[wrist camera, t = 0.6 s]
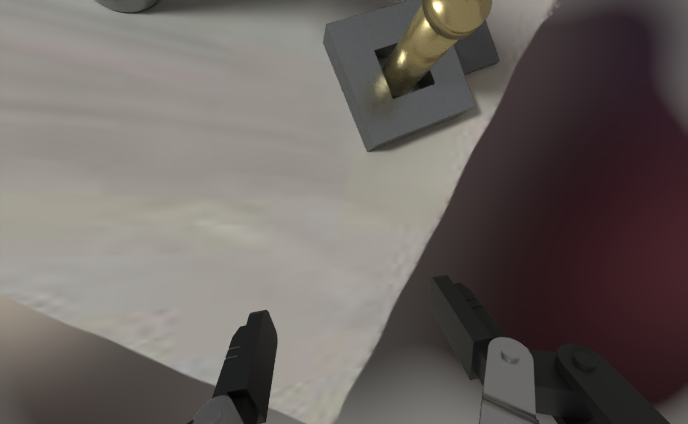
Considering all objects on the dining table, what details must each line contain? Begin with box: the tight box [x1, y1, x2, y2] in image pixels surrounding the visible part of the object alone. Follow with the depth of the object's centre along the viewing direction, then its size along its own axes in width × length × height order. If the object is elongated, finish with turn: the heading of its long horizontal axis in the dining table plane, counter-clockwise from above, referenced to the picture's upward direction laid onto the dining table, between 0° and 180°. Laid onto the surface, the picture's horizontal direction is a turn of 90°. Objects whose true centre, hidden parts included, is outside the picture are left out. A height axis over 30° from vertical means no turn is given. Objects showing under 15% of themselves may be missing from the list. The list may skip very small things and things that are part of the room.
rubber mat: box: [454, 20, 500, 75], centre depth 39 cm, size 9×9×1 cm
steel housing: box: [323, 0, 475, 152], centre depth 35 cm, size 16×16×4 cm
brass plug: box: [382, 0, 492, 97], centre depth 29 cm, size 6×6×14 cm
